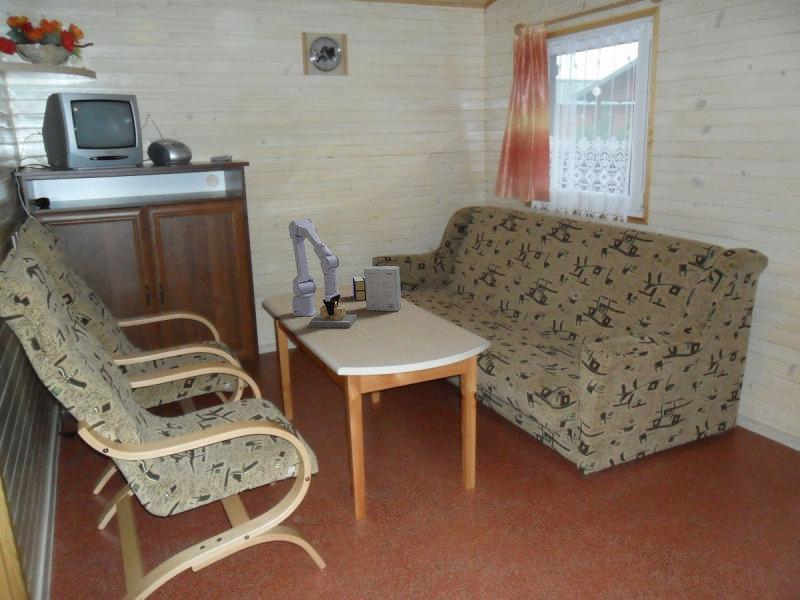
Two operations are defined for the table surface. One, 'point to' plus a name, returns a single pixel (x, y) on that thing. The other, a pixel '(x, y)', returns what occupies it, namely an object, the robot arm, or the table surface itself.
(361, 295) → the puzzle cube
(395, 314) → the table surface
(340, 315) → the tan rectangular block
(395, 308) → the hard drive box
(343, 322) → the loading dock
